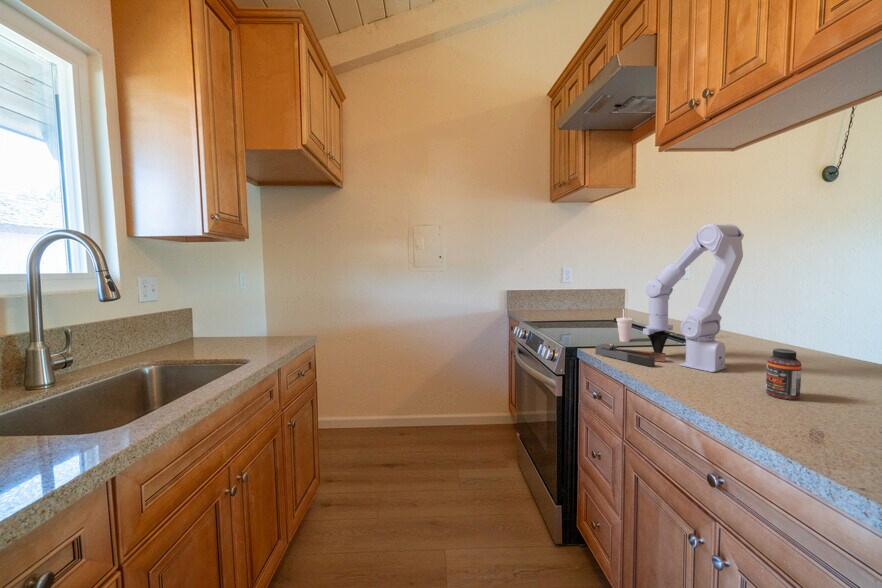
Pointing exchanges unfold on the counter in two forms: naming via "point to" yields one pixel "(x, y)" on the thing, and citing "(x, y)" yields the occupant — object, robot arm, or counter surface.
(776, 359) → the supplement bottle
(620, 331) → the smoothie
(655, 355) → the tong arm
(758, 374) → the counter surface
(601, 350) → the frame
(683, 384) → the counter surface
